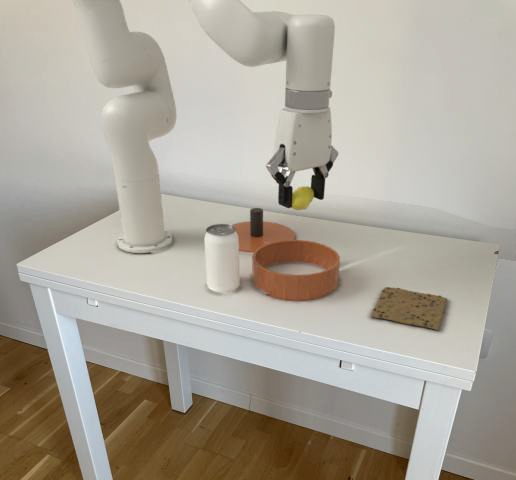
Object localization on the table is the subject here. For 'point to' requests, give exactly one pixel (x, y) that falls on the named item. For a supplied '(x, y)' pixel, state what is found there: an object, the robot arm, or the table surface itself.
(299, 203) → the lemon
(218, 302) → the table surface
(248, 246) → the lid
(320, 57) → the robot arm
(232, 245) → the can
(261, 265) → the pot
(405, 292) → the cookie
